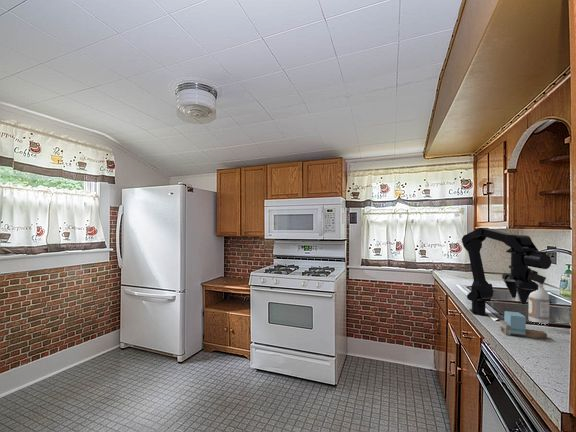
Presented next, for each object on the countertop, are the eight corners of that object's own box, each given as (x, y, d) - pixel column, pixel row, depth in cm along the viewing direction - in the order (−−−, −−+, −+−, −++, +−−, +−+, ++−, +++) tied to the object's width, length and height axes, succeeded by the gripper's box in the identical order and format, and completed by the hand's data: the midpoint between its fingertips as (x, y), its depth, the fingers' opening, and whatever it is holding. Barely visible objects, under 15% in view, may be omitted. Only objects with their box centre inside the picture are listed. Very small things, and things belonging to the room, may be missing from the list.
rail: (505, 335, 111) (506, 325, 111) (499, 329, 116) (499, 320, 116) (549, 340, 106) (549, 330, 106) (540, 334, 112) (540, 324, 112)
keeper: (510, 333, 110) (510, 315, 110) (504, 327, 116) (504, 311, 116) (525, 334, 109) (525, 317, 109) (518, 329, 114) (518, 312, 114)
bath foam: (526, 318, 130) (526, 276, 130) (545, 321, 126) (546, 278, 127) (531, 323, 123) (531, 279, 124) (551, 326, 120) (552, 281, 120)
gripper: (555, 270, 105) (554, 310, 105) (532, 262, 123) (531, 297, 123) (520, 267, 109) (519, 306, 109) (502, 260, 127) (501, 294, 127)
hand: (518, 300), depth 117 cm, fingers open, 9 cm apart
